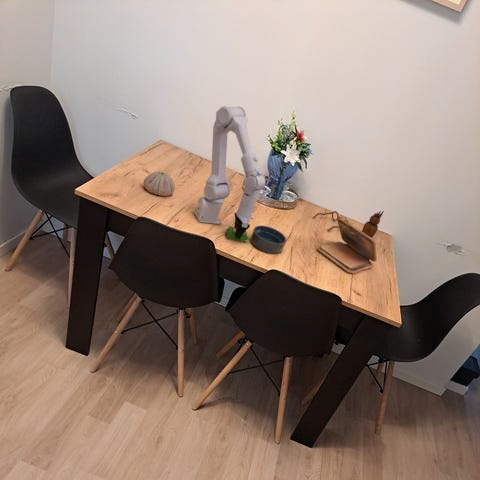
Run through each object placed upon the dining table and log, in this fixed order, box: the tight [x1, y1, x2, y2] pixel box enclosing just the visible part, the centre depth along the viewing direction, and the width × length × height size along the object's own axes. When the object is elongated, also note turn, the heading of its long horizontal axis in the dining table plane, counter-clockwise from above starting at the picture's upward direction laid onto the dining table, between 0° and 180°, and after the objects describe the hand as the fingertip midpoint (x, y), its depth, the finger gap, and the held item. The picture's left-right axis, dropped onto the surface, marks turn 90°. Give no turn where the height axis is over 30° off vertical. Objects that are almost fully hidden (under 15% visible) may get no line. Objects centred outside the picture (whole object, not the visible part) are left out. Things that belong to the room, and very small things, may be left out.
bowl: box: [250, 225, 287, 254], centre depth 189 cm, size 14×14×5 cm
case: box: [317, 217, 378, 274], centre depth 200 cm, size 20×21×16 cm
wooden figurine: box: [361, 210, 385, 239], centre depth 229 cm, size 7×6×15 cm
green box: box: [225, 225, 249, 243], centre depth 186 cm, size 8×5×3 cm, turn 96°
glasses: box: [312, 210, 350, 232], centre depth 229 cm, size 13×13×5 cm
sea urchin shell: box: [143, 170, 176, 197], centre depth 196 cm, size 13×14×8 cm
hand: (236, 234), depth 186 cm, fingers closed on green box, 4 cm apart
